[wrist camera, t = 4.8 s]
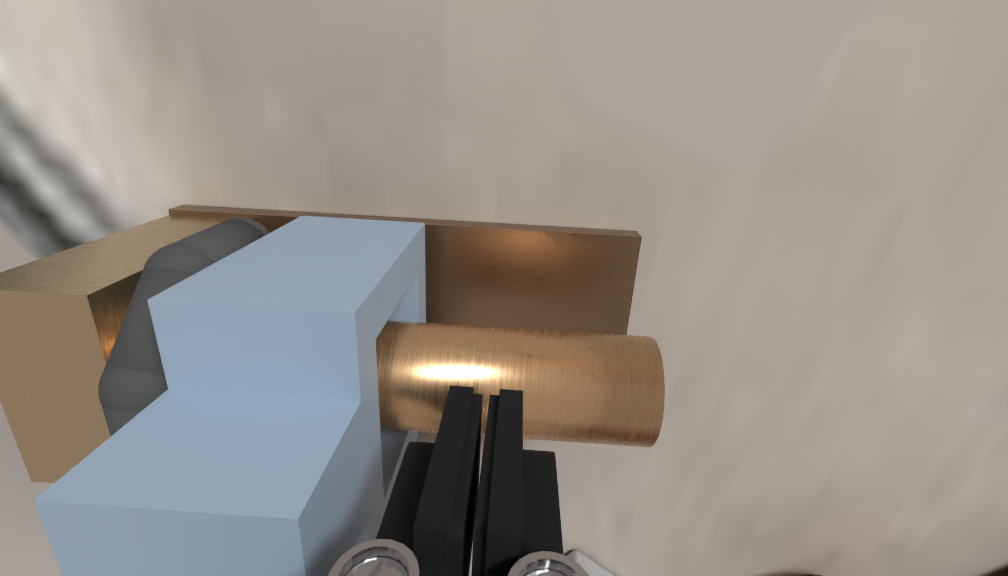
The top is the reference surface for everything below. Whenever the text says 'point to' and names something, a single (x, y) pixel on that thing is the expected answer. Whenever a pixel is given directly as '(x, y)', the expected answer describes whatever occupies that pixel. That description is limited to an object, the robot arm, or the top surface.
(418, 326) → the pipe rig
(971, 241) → the top surface
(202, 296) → the blue-grey stepped block
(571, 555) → the coffee box
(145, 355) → the o ring
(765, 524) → the top surface
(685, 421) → the top surface
